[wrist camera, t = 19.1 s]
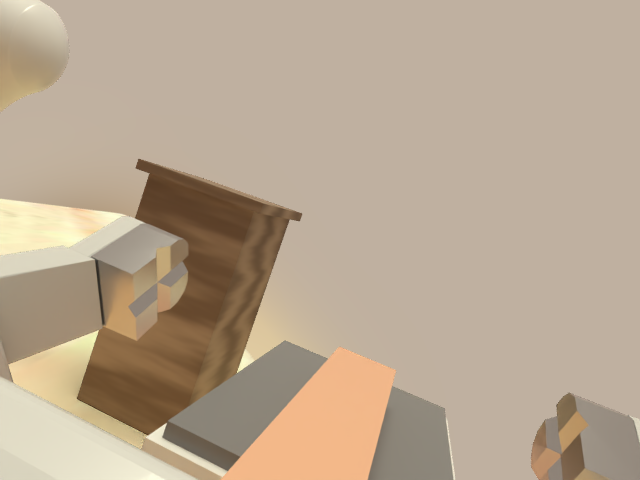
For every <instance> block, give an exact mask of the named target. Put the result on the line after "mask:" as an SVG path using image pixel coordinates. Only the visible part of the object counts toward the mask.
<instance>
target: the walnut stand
mask: <svg viewBox="0 0 640 480" xmlns="http://www.w3.org/2000/svg"><path fill="white" fill-rule="evenodd" d="M136 169H139V170H142V171H145V172H147V173H150V174H149V177H148V180H147V183H146V186H145V189H144V192H143V195H142V199H141V202H140V205H139V208H138V211H137V214H136V217H135V219H137V220H139V221H142V222H144V223H146V224H150V225H152V226H155V227H157V228H159V229H162V230H164V231H166V232H169V233H171V234H173V235H176V236H178V237H180V238H183V239H184V240H185V241H186V242H187V243H188V256H187V257H186V258H185V259H184V260H183V263H184V265H185V267H186V269H187V271H188V281H187V284H186V288H185V291H184V292H183V294H182V296H181V298H180V299H179V301H178V302H177V303H176V304H175V305H174V306H173V307H172V308H171V309H169V310H165V311H162V312H158V317H157V322H156V323H155V324H154V325H153V326H152V327H151V328H150V329H149V330H148V331H147V332H146V333H144V334H143V335H142V336H141V337H140V338H139V339H138V340H137V341H136V340H134V339H131V338H129V337H127V336H124V335H122V334H120V333H117V332H115V331H113V330H110V329H108V328H106V327H103V328H102V329H100V330H99V332H98V335H97V338H96V341H95V344H94V347H93V351H92V354H91V357H90V360H89V363H88V366H87V369H86V372H85V375H84V378H83V382H82V385H81V388H80V391H79V394H78V397H77V399H79V400H81V401H83V402H85V403H87V404H89V405H91V406H93V407H95V408H96V409H98V410H100V411H102V412H104V413H106V414H108V415H110V416H112V417H114V418H116V419H118V420H120V421H122V422H124V423H126V424H128V425H130V426H132V427H134V428H136V429H138V430H140V431H141V432H143V433H145V434H147V435H150V434H151V433H153V432H154V431H156V430H157V429H158V428H160V427H161V426H163V425H164V424H166V423H167V421H168V420H169V419H171V418H172V417H174V416H175V415H177V414H178V413H180V412H181V411H183V410H184V409H186V408H187V407H188V406H190V405H191V404H193V403H194V402H196V401H197V400H199V399H200V398H202V397H203V396H205V395H206V394H207V393H209V392H210V391H212V390H213V389H215V388H216V387H218V386H219V385H221V384H222V383H224V382H225V381H227V380H228V379H229V378H231V377H232V376H234V375H235V374H236V373H237V370H238V367H239V364H240V362H241V359H242V356H243V353H244V350H245V347H246V344H247V341H248V338H249V335H250V332H251V330H252V327H253V324H254V321H255V318H256V315H257V312H258V309H259V306H260V303H261V301H262V298H263V295H264V292H265V289H266V286H267V283H268V280H269V277H270V275H271V272H272V269H273V266H274V263H275V260H276V257H277V254H278V251H279V249H280V245H281V243H282V240H283V237H284V234H285V231H286V228H287V225H288V223H289V220H290V219H291V220H296V221H300V219H301V216H302V213H299V212H296V211H293V210H290V209H288V208H285V207H282V206H279V205H277V204H274V203H271V202H268V201H265V200H263V199H260V198H257V197H254V196H251V195H248V194H246V193H243V192H240V191H237V190H234V189H232V188H229V187H226V186H223V185H220V184H218V183H215V182H212V181H209V180H206V179H204V178H200V177H197V176H193V175H190V174H187V173H184V172H180V171H177V170H174V169H171V168H167V167H164V166H161V165H158V164H154V163H151V162H148V161H144V160H141V159H138V162H137V165H136Z"/></svg>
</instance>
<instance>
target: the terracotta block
mask: <svg viewBox="0 0 640 480" xmlns="http://www.w3.org/2000/svg"><path fill="white" fill-rule="evenodd" d="M395 373H396V370H394V369H391V368H389V367H387V366H384V365H382V364H379V363H377V362H375V361H372V360H370V359H368V358H365V357H363V356H361V355H358V354H356V353H353V352H351V351H349V350H346V349H344V348H341V347H339V348H338V349H337V350H336V351H335V352H334V353H333V354H332V355H331V356H330V358H329V359H328V360H327V361H326V362H325V363H324V364H323V365H322V366H321V368H320V369H319V370H318V371H317V372H316V373H315V374H314V375H313V377H312V378H311V379H310V380H309V381H308V382H307V383H306V384H305V385H304V387H303V388H302V389H301V390H300V391H299V392H298V393H297V394H296V396H295V397H294V398H293V399H292V400H291V401H290V402H289V403H288V404H287V406H286V407H285V408H284V409H283V410H282V411H281V412H280V413H279V415H278V416H277V417H276V418H275V419H274V420H273V421H272V422H271V424H270V425H269V426H268V427H267V428H266V429H265V430H264V431H263V432H262V434H261V435H260V436H259V437H258V438H257V439H256V440H255V441H254V443H253V444H252V445H251V446H250V447H249V448H248V449H247V450H246V451H245V453H244V454H243V455H242V456H241V457H240V458H239V459H238V460H237V462H236V463H235V464H234V465H233V466H232V467H231V468H230V469H229V470H228V472H227V473H226V474H225V475H224V476H223V477H222V478H221V479H220V480H368V476H369V472H370V468H371V465H372V461H373V457H374V453H375V449H376V445H377V442H378V438H379V434H380V430H381V426H382V422H383V419H384V415H385V411H386V407H387V403H388V399H389V396H390V392H391V388H392V384H393V380H394V376H395Z"/></svg>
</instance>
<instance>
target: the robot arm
mask: <svg viewBox="0 0 640 480" xmlns="http://www.w3.org/2000/svg"><path fill="white" fill-rule="evenodd" d="M68 59H69V39H68V35H67V32H66V29H65V26H64V24H63V22H62V20H61V18H60V16H59V15H58V14H57V13H56V11H55V10H53V9H52V8H51V7H49V6H48V5H46V4H45V3H43V2H41V1H40V0H0V113H1V112H2V111H3V110H4V109H5V108H6V107H8V106H9V105H10V104H12V103H14V102H15V101H17V100H18V99H20V98H23V97H25V96H27V95H30V94H33V93H36V92H40V91H43V90H45V89H47V88H49V87H50V86H52V85H53V84H54V83H55V82H56V81H57V80H58V79H59V78H60V77H61V75H62V74H63V72H64V70H65V68H66V66H67V63H68ZM187 256H188V243H187V242H186V241H185V240H184V239H183V238H180V237H178V236H176V235H173V234H171V233H169V232H166V231H164V230H162V229H159V228H157V227H155V226H152V225H150V224H146V223H144V222H142V221H139V220H137V219H135V218H132V217H130V216H122V217H120V218H119V219H117V220H115V221H113V222H112V223H110V224H108V225H107V226H105V227H103V228H102V229H100V230H98V231H97V232H95V233H93V234H91V235H90V236H88V237H86V238H85V239H83V240H81V241H80V242H78V243H76V244H75V245H73V246H71V247H70V248H67V247H65V246H57V247H51V248H45V249H38V250H32V251H26V252H20V253H14V254H7V255H1V256H0V480H199V479H197V478H195V477H193V476H191V475H189V474H187V473H185V472H183V471H181V470H179V469H177V468H176V467H174V466H172V465H170V464H168V463H166V462H164V461H162V460H160V459H158V458H156V457H154V456H152V455H151V454H149V453H147V452H145V451H143V450H141V449H139V448H137V447H135V446H133V445H131V444H129V443H128V442H126V441H124V440H122V439H120V438H118V437H116V436H114V435H112V434H110V433H108V432H106V431H104V430H103V429H101V428H99V427H97V426H95V425H93V424H91V423H89V422H87V421H85V420H83V419H81V418H80V417H78V416H76V415H74V414H72V413H70V412H68V411H66V410H64V409H62V408H60V407H58V406H56V405H55V404H53V403H51V402H49V401H47V400H45V399H43V398H41V397H39V396H37V395H35V394H33V393H32V392H30V391H28V390H26V389H24V388H22V387H20V386H18V385H16V384H14V383H13V380H12V376H11V373H10V369H9V366H8V364H11V363H13V362H16V361H18V360H21V359H24V358H26V357H29V356H32V355H34V354H37V353H39V352H42V351H45V350H47V349H50V348H53V347H55V346H58V345H60V344H63V343H66V342H68V341H71V340H74V339H76V338H79V337H82V336H84V335H87V334H89V333H92V332H95V331H97V330H100V329H102V328H103V327H106V328H108V329H110V330H113V331H115V332H117V333H120V334H122V335H124V336H127V337H129V338H131V339H134V340H136V341H137V340H138V339H139V338H140V337H141V336H142V335H143V334H144V333H146V332H147V331H148V330H149V329H150V328H151V327H152V326H153V325H154V324H155V323H156V322H157V317H158V312H162V311H165V310H169V309H171V308H172V307H173V306H174V305H175V304H176V303H177V302H178V301H179V299H180V298H181V296H182V294H183V292H184V291H185V288H186V284H187V281H188V271H187V269H186V267H185V265H184V263H183V260H184V259H185V258H186V257H187ZM556 407H557V417H554V418H550V419H546V420H545V421H544V422H543V424H542V425H541V427H540V428H539V430H538V431H537V434H536V437H535V440H534V442H533V447H532V454H531V467H532V469H533V471H534V472H535V474H536V476H537V478H538V479H539V480H640V419H637V418H634V417H632V416H629V415H625V414H622V413H620V412H617V411H615V410H612V409H610V408H607V407H604V406H602V405H599V404H597V403H594V402H592V401H589V400H586V399H584V398H581V397H579V396H576V395H574V394H571V393H568V394H567V395H565V396H563V398H562V399H561V400H560V401H559V402H558V404H557V405H556Z"/></svg>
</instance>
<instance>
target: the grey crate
mask: <svg viewBox="0 0 640 480" xmlns="http://www.w3.org/2000/svg"><path fill="white" fill-rule="evenodd" d="M327 360H328V359H327V358H325V357H323V356H320V355H318V354H316V353H313V352H311V351H309V350H306V349H304V348H301V347H299V346H297V345H294V344H292V343H290V342H287V341H284V342H282V343H281V344H279V345H278V346H276V347H275V348H273V349H272V350H270V351H269V352H267V353H266V354H265V355H263V356H262V357H260V358H259V359H257V360H256V361H254V362H253V363H251V364H250V365H248V366H247V367H246V368H244V369H243V370H241V371H240V372H238V373H237V374H235V375H234V376H232V377H231V378H229V379H228V380H227V381H225V382H224V383H222V384H221V385H219V386H218V387H216V388H215V389H213V390H212V391H210V392H209V393H207V394H206V395H205V396H203V397H202V398H200V399H199V400H197V401H196V402H194V403H193V404H191V405H190V406H188V407H187V408H186V409H184V410H183V411H181V412H180V413H178V414H177V415H175V416H174V417H172V418H171V419H169V420H168V421H167V423H166V424H164V425H163V426H161V427H160V428H158V429H157V430H156V431H154V432H153V433H151V434H150V435H148V436H147V437H145V440H144V443H143V446H142V449H141V450H143V451H145V452H147V453H149V454H151V455H152V456H154V457H156V458H158V459H160V460H162V461H164V462H166V463H168V464H170V465H172V466H174V467H176V468H177V469H179V470H181V471H183V472H185V473H187V474H189V475H191V476H193V477H195V478H197V479H199V480H220V479H221V478H222V477H223V476H224V475H225V474H226V473H227V472H228V470H229V469H230V468H231V467H232V466H233V465H234V464H235V463H236V462H237V460H238V459H239V458H240V457H241V456H242V455H243V454H244V453H245V451H246V450H247V449H248V448H249V447H250V446H251V445H252V444H253V443H254V441H255V440H256V439H257V438H258V437H259V436H260V435H261V434H262V432H263V431H264V430H265V429H266V428H267V427H268V426H269V425H270V424H271V422H272V421H273V420H274V419H275V418H276V417H277V416H278V415H279V413H280V412H281V411H282V410H283V409H284V408H285V407H286V406H287V404H288V403H289V402H290V401H291V400H292V399H293V398H294V397H295V396H296V394H297V393H298V392H299V391H300V390H301V389H302V388H303V387H304V385H305V384H306V383H307V382H308V381H309V380H310V379H311V378H312V377H313V375H314V374H315V373H316V372H317V371H318V370H319V369H320V368H321V366H322V365H323V364H324V363H325V362H326V361H327ZM368 480H455V474H454V467H453V460H452V452H451V445H450V437H449V429H448V422H447V419H446V416H445V409H444V408H442V407H440V406H438V405H435V404H433V403H431V402H428V401H426V400H424V399H421V398H419V397H416V396H414V395H412V394H410V393H407V392H405V391H403V390H400V389H398V388H395V387H393V386H392V388H391V392H390V396H389V399H388V403H387V407H386V411H385V415H384V419H383V422H382V426H381V430H380V434H379V438H378V442H377V445H376V449H375V453H374V457H373V461H372V465H371V468H370V472H369V476H368Z"/></svg>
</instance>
